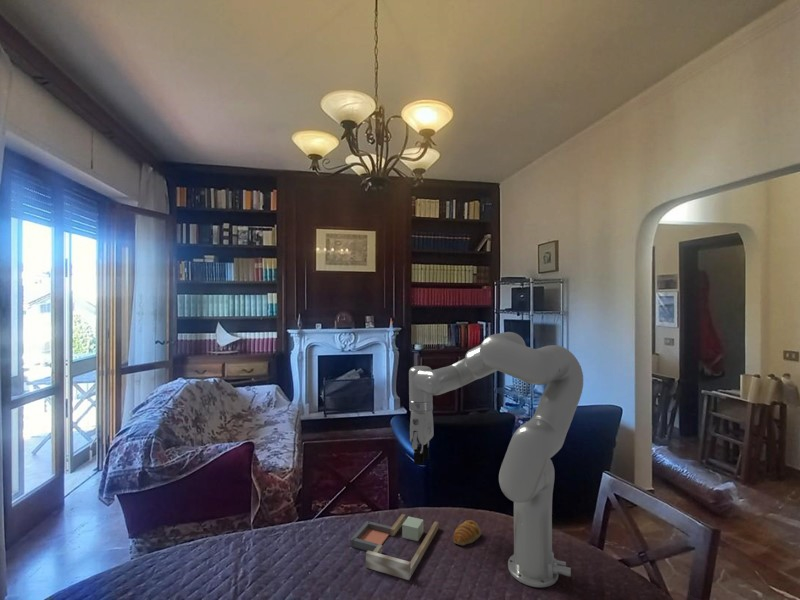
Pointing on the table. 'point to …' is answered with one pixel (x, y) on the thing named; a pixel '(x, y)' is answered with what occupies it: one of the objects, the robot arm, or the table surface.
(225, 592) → the table surface
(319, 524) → the table surface
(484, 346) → the robot arm
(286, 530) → the table surface
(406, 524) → the block
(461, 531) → the pastry
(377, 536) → the tray
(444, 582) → the table surface
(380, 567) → the wooden channel walls
